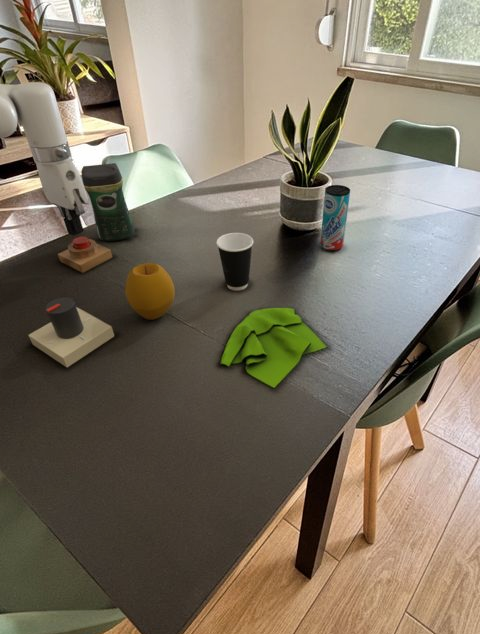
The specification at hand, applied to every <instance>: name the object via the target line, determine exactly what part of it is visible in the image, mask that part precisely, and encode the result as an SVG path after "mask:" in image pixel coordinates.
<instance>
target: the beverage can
mask: <svg viewBox="0 0 480 634" xmlns="http://www.w3.org/2000/svg"><path fill="white" fill-rule="evenodd" d="M350 196H351V189H350V188H349V187H348V186H346V185H341V184H332V185H328V186H326V187H325V188H324V196H323V197H324V198H323V207H322V220H321V229H320V231H321V232H320V242H319V244H320V247H321V249H322V250H324V251H327V252H338V251H340V250H342V248H343V247H344V242H345V235H346V226H347V219H348V211H349V204H350Z"/></svg>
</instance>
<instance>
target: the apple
mask: <svg viewBox="0 0 480 634" xmlns="http://www.w3.org/2000/svg"><path fill="white" fill-rule="evenodd" d="M124 291H125V297H126V299H127V303H128V304H129V306H130V307H131V308H132V310H133V311H135V312H136V313H137V314H138V315H139V316H140V317H142V318H144V319H146V320H156V319H159V318H161V317H163V316H165V314H166V313H167V312H168V311H169V309H170V308H171V306H172V305H173V303H174V299H175V296H176V293H175V292H176V291H175V284H174V282H173V279H172V277H171V276H170V275H169V273H168V272H167V271H166V270H165V269H164V268H163V266H161V265H160V264H157V263H152V262H144V263H142V264H139V265H136V266H135V267H133V268H132V269H130V271H129V273H128V275H127V277H126V282H125V290H124Z"/></svg>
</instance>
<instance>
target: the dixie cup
mask: <svg viewBox="0 0 480 634" xmlns="http://www.w3.org/2000/svg"><path fill="white" fill-rule="evenodd" d="M215 242H216V243H215V244H216V246H217V249H218V252H219V258H220V262H221V267H222V272H223V277H224V282H225V284H226V285H227V288H228V289H229V290H231V291H238V292H239V291H243V290H245V289H246V288H247V287H248V285H249V282H250V274H251V263H252V262H251V261H252V251H253V245H254V239H253V237H252V236H251V235H249V234H246V233H243V232H230V233H226V234H223V235H221V236H219V237H218V238H217V239H216V241H215Z"/></svg>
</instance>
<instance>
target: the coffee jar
mask: <svg viewBox="0 0 480 634" xmlns="http://www.w3.org/2000/svg"><path fill="white" fill-rule="evenodd" d="M120 171H121V170H120V169H119V167H118V164H117V163H116V162H115V163H114V162H112V163H103V164H92V165H84V166H82V168H81V172H80V173H81V179H82V181H83V184H84V187H85V191H86V194H87V196H88V197H89V200H90V204H91V208H92V212H93V218H94V223H95V227H96V231H97V232H96V233H97V235H98V238H99V239H100V240H101V241H103V242H114V241H121V240H127V239H130V238H132V237H133V236H134V235H135V232H136V230H135V225H134V222H133V220H132V216H131V213H130V210H129V208H128V205H127V202H126V198H125V195H124V191H123V186H124V181H123V176H122V174H121V172H120Z"/></svg>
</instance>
